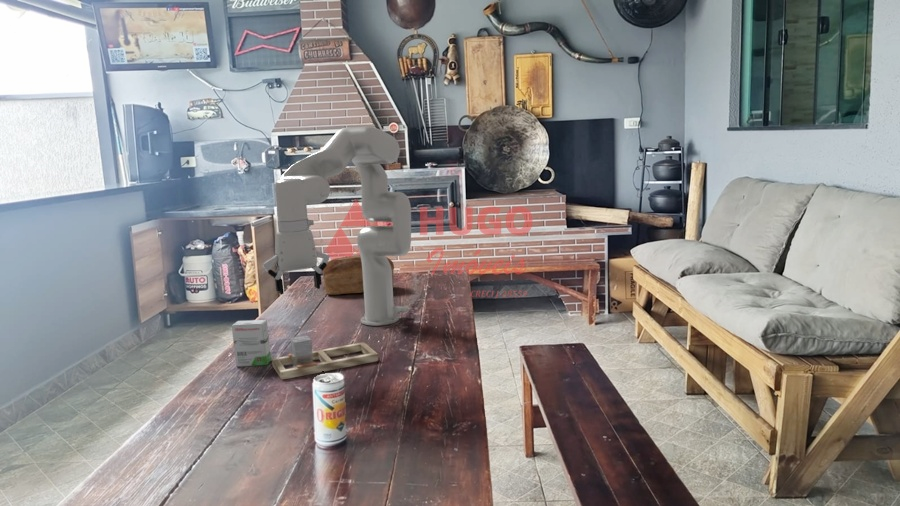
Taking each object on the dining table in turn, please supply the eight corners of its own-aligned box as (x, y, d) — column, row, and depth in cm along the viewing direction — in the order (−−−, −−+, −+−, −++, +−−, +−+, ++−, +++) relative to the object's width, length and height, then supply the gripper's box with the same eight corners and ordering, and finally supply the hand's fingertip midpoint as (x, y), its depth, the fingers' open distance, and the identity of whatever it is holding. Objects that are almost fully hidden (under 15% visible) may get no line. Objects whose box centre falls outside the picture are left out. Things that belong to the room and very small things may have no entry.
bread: (396, 292, 253) (394, 256, 250) (323, 297, 249) (320, 261, 247) (394, 285, 265) (392, 251, 262) (325, 290, 261) (322, 255, 258)
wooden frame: (364, 348, 185) (363, 340, 185) (378, 360, 175) (377, 352, 174) (272, 365, 174) (271, 356, 174) (281, 379, 164) (280, 370, 163)
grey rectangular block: (309, 363, 175) (307, 335, 174) (313, 368, 171) (311, 339, 170) (292, 366, 173) (290, 338, 172) (296, 371, 169) (294, 342, 168)
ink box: (272, 359, 179) (268, 318, 177) (266, 365, 175) (262, 323, 172) (241, 360, 180) (237, 319, 178) (235, 367, 175) (230, 325, 173)
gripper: (322, 221, 174) (327, 283, 177) (256, 228, 167) (263, 292, 170) (330, 224, 168) (335, 288, 171) (262, 232, 160) (269, 298, 163)
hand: (299, 290), depth 170 cm, fingers open, 9 cm apart
